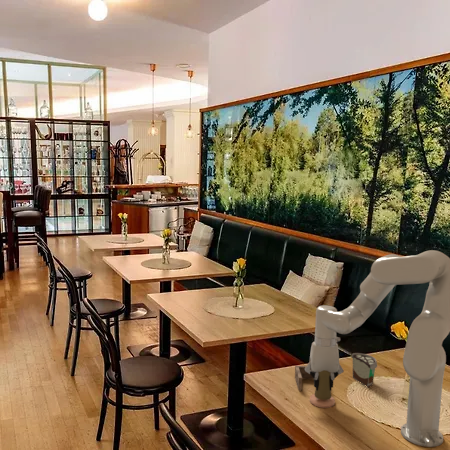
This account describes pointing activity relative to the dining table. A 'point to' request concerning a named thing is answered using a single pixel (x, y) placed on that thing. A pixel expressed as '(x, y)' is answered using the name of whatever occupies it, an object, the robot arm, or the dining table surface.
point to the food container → (364, 368)
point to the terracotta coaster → (322, 402)
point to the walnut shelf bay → (301, 375)
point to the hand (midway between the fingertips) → (323, 388)
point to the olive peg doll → (323, 386)
